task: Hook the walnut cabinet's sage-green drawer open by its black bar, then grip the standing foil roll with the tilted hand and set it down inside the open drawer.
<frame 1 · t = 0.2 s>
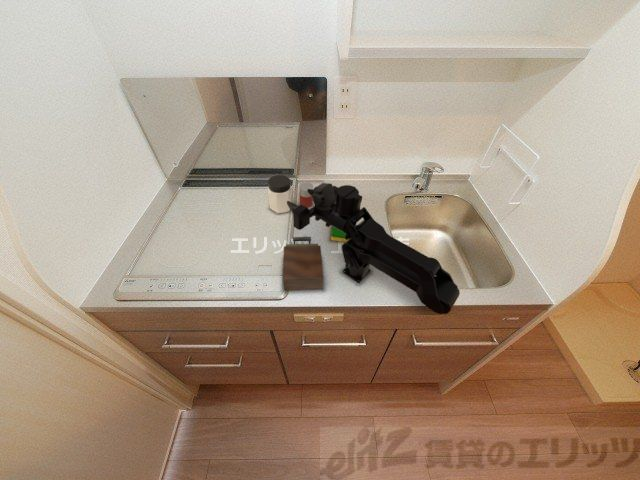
hand: (297, 196, 84), 17 cm above the countertop, tool horizontal, fingers open, 9 cm apart
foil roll: (306, 207, 107), on the countertop
jar: (281, 207, 106), on the countertop
cabinet: (302, 273, 84), on the countertop
drawer: (302, 256, 85), point 3 cm above the countertop, slide at 0.5 cm
dish sponge: (350, 236, 97), on the countertop
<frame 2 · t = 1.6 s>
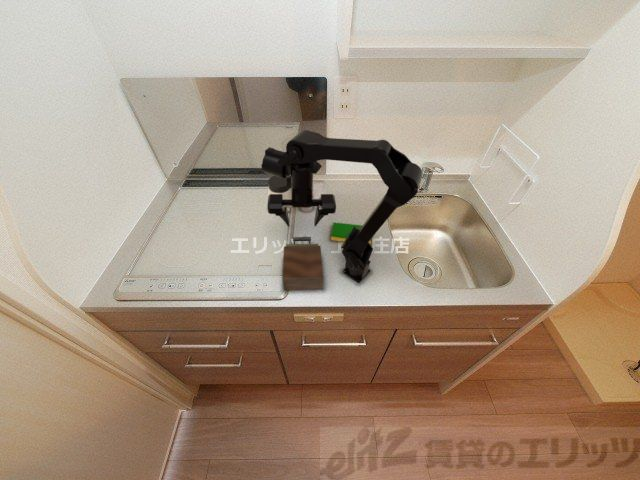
hand: (301, 225, 81), 12 cm above the countertop, tool pointing down, fingers open, 8 cm apart
nothing on the countertop moved.
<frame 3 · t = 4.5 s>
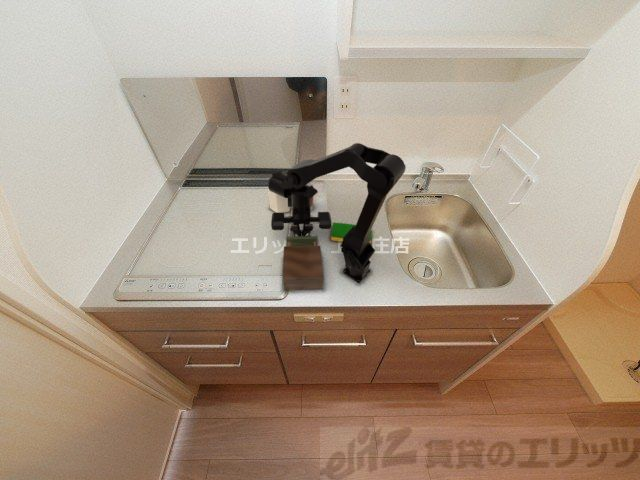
hand: (301, 239, 92), 2 cm above the countertop, tool pointing down, fingers closed, pressing on drawer
drawer: (302, 248, 87), point 3 cm above the countertop, slide at 4.0 cm, touching gripper
everything else where it was.
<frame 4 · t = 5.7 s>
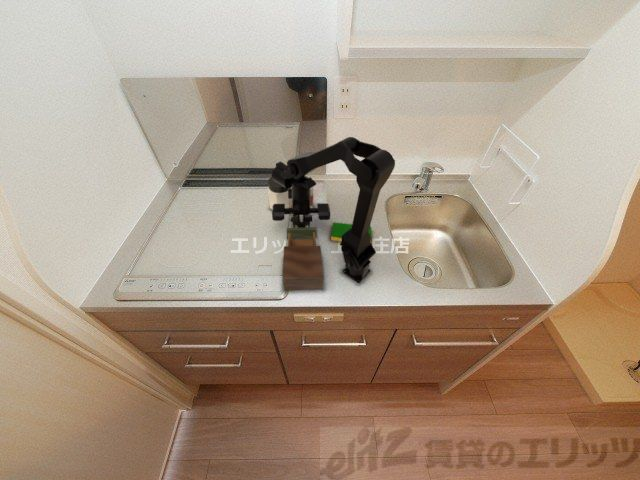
hand: (301, 230, 94), 2 cm above the countertop, tool pointing down, fingers closed
drawer: (301, 239, 90), point 3 cm above the countertop, slide at 8.2 cm
everything else where it was.
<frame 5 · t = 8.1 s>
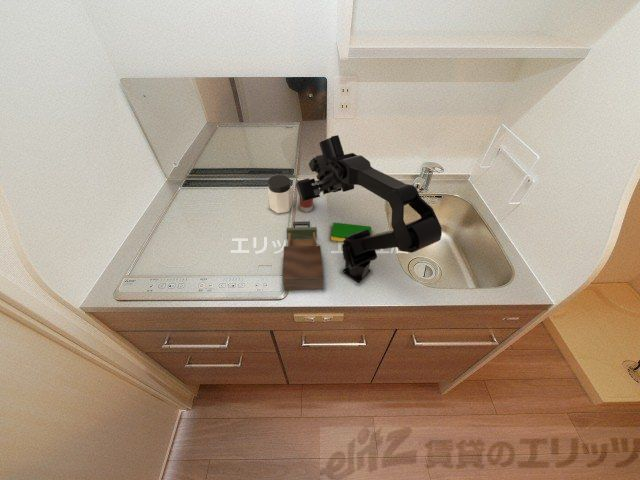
hand: (316, 190, 92), 14 cm above the countertop, tool tilted 45°, fingers open, 4 cm apart
nothing on the countertop moved.
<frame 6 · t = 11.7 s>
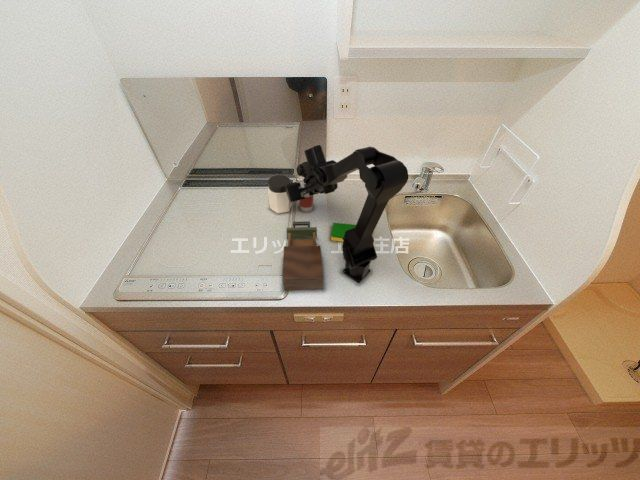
hand: (304, 192, 103), 7 cm above the countertop, tool tilted 45°, fingers closed on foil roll, 5 cm apart
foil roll: (306, 207, 107), on the countertop, touching gripper
everything else where it was.
when the fingers open (8 cm above the countertop, at t = 19.2 s): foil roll stays where it is, resting on drawer.
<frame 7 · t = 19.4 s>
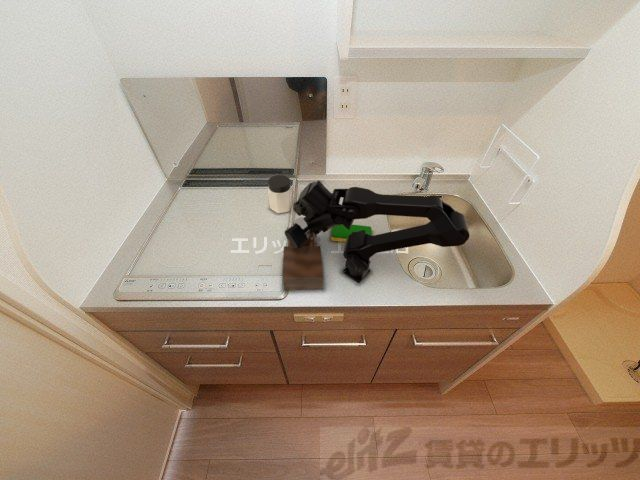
hand: (298, 228, 86), 8 cm above the countertop, tool tilted 45°, fingers open, 6 cm apart
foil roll: (302, 244, 90), point 2 cm above the countertop, touching drawer
drawer: (301, 239, 90), point 3 cm above the countertop, slide at 8.3 cm, touching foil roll
everything else where it was.
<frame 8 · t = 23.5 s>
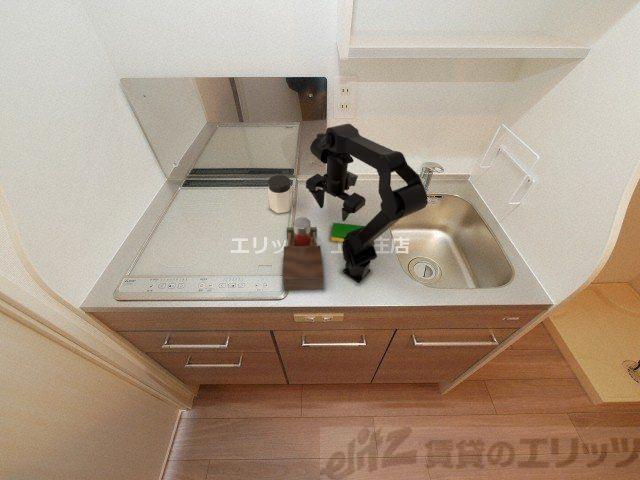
hand: (332, 214, 86), 12 cm above the countertop, tool pointing down, fingers open, 9 cm apart
nothing on the countertop moved.
at the end: drawer slide at 8.3 cm; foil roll inside the target area in the drawer (0.1 cm from its centre), point 1.9 cm above the cabinet's base; the gripper is holding nothing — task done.
